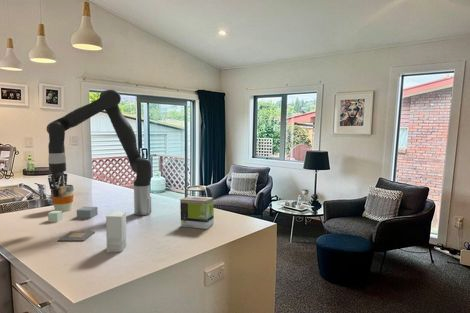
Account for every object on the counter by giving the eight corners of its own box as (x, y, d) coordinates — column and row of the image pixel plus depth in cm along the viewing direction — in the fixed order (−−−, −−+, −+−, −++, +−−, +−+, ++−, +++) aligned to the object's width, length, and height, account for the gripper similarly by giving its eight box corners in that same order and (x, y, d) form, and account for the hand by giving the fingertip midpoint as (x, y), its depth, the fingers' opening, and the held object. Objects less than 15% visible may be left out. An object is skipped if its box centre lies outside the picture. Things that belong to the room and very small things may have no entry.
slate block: (97, 215, 186) (97, 206, 186) (90, 219, 178) (90, 210, 178) (84, 214, 187) (84, 206, 186) (76, 218, 179) (76, 210, 178)
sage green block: (62, 219, 177) (62, 210, 176) (57, 222, 172) (57, 213, 171) (53, 219, 176) (52, 210, 176) (48, 222, 172) (47, 213, 171)
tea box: (214, 224, 169) (214, 197, 168) (206, 229, 160) (206, 201, 158) (189, 221, 174) (188, 194, 173) (180, 226, 165) (179, 198, 163)
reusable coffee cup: (46, 211, 192) (45, 187, 191) (64, 206, 204) (63, 184, 203) (61, 213, 188) (60, 189, 186) (79, 208, 199) (78, 185, 198)
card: (95, 232, 155) (95, 230, 155) (84, 241, 143) (84, 239, 143) (70, 232, 155) (70, 230, 155) (57, 241, 143) (57, 239, 143)
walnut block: (66, 195, 161) (66, 185, 161) (61, 197, 156) (60, 187, 156) (56, 195, 161) (56, 185, 161) (51, 197, 156) (50, 187, 156)
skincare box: (112, 245, 138) (111, 210, 137) (127, 244, 139) (126, 210, 137) (106, 252, 130) (104, 216, 129) (122, 252, 131) (121, 215, 129)
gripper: (57, 163, 150) (59, 198, 152) (71, 160, 164) (73, 192, 166) (41, 163, 150) (43, 198, 152) (57, 160, 164) (59, 192, 166)
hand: (59, 195), depth 159 cm, fingers closed on walnut block, 5 cm apart
